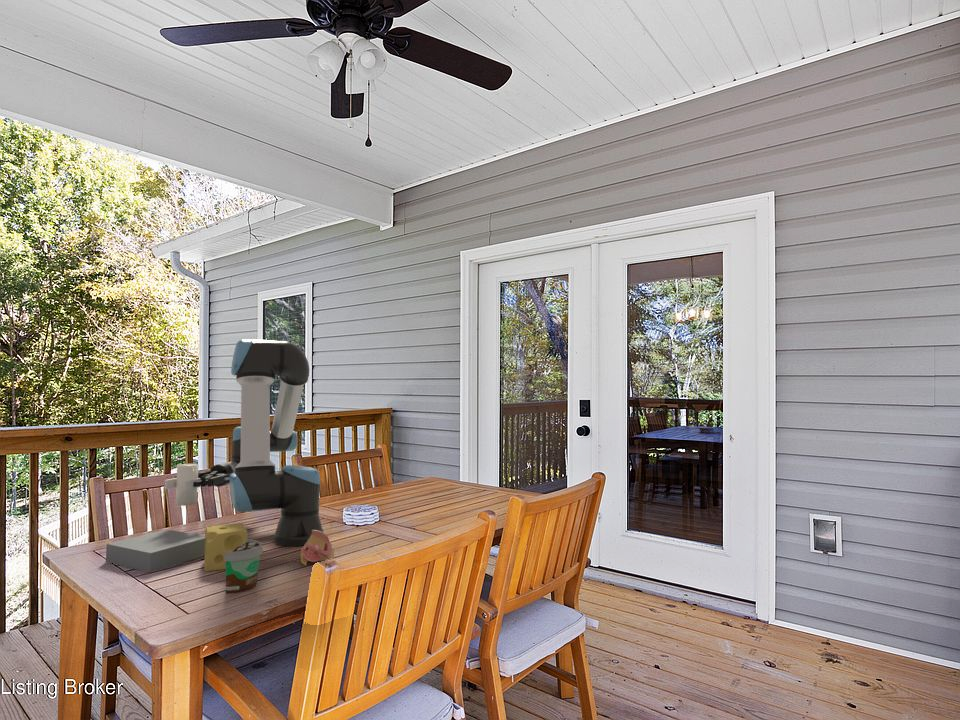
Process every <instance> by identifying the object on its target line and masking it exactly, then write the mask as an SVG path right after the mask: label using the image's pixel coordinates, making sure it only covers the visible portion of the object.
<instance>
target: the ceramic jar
mask: <svg viewBox="0 0 960 720" xmlns="http://www.w3.org/2000/svg"><path fill="white" fill-rule="evenodd" d="M199 467H200V466H199V463H183V464H182V463H181V464H177V465H176V476H177V480H176V487H175V502H174V504H175V506H182V507H184V506H194V505H196V504H197V503H198V490H199V487H198V488H194V489H190V490H186V491H184V490H183V481H188V480H192V479H197V478H198V473H199Z"/></svg>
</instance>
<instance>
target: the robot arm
mask: <svg viewBox="0 0 960 720" xmlns="http://www.w3.org/2000/svg"><path fill="white" fill-rule="evenodd" d="M230 368H231V369H230V370H231V371H230V374H231V375H232V376H236V379H235V382H236V383H238V384H239V385H240V387H241V388H240V389H241V390H240V395H241V396H240V399H241V400H240V401H241V402H240V426H236V427H234V429H233V430H232V431H233V432H232V440H231V441H232V442H231V443H232V448H231V461H228V462H222V463H219V464H217V463H216V464H214V465H213V466H212V467H210V469H209V470H205V471H202V472H201V471H200V472H198V478H197V479H192V480H188V481H183V490H184V491H186V490H190V489H194V488H198V489H199V488H200V487H202V488H204V487H208V488H209V487H210V488H211V487H219V488H221V487H223V486H229V494H230V501H231V502H232V506H233V508H234V510H235V511H236V512H239V513H241V512H251V513H252V512H256V511H257V512H258V511H269V510H280V518H279V520H278V522H277V527H276V531H275V532H274V535H273V536H274V537H273V542H274V543H275V544H276V545H278V546H283V547H284V546H285V547H303V546H302V545H305V543H306V542H308V541H307V540H308V539H309V538H310V536H311V534H312V530H318V531H321V532H323V533H324V534H325V531H324V528H323V525H322V521H321V518H320V496H321V495H320V492H321V491H320V488H321V484H322V483H321V475H320V471H319V470H318V469H317V468H314V467H309V466H303V465H283V466H282V468H281V470H276V464H275V463H274V462H272V460H271V453H273V452H274V453H275V452H276V453H277V452H280V453H281V452H282V453H284V452H291V451H295V450H296V449H297V446H298V434H297V432H296V431H295V430H294V429H295V425H296V420H297V415H298V411H299V408H300V407H299V406H300V403H301V399H302V394H303V389H304V386H305V385H306V384H307V383H308V381H309V376H310V364H309V361H308V358H307V355H306V354H305V353H304V352H303V350H302V349H301V348H300V347H299V346H297V345H296V344H294V343H292V342H290V341H287V340H270V339H269V340H267V339H254V338H251V339H239V340H238V341H237V342H236V344H235V347H234V352H233V356H232V362H231V367H230ZM276 377H279V379H280V384H279V385H280V386H279V388H278V389H279V390H278V395H277V399H276V400H277V401H276V404H275V405H276V407H275V410H274V411H275V412H274V414H273V415H274V416H273V419H272V427H271V412H270V411H271V386H272V384H273V383H274V382H276ZM176 480H177V475H175V476H174V478H170V479H165V480H164V487H163V489H164V490H169V489H173V488H176Z"/></svg>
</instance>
